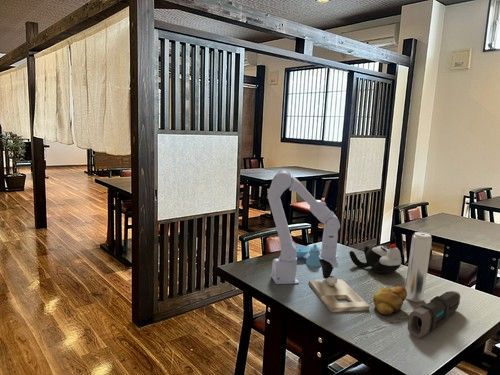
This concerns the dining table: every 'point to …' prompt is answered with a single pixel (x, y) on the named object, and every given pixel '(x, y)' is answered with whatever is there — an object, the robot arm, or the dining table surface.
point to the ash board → (338, 296)
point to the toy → (379, 258)
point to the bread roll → (389, 299)
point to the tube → (432, 313)
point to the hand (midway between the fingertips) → (326, 277)
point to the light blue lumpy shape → (313, 252)
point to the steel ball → (332, 281)
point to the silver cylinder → (418, 266)
